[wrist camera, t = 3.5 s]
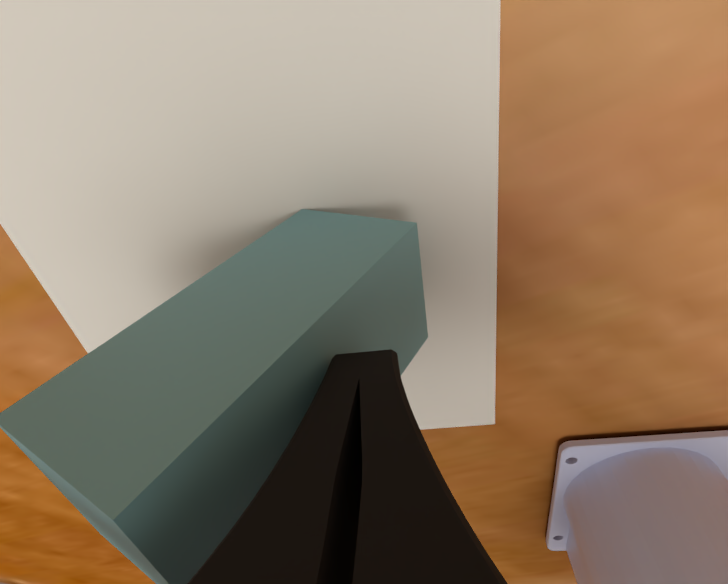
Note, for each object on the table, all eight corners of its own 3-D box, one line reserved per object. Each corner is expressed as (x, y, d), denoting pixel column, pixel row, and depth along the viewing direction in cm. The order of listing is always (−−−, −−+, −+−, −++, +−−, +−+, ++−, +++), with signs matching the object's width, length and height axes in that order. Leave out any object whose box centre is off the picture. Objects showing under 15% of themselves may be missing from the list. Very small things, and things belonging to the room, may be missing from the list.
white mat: (492, 413, 20) (494, 424, 19) (157, 438, 22) (152, 448, 21) (496, -131, 10) (502, -137, 9) (-126, 3, 12) (-149, 4, 11)
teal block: (428, 337, 14) (216, 637, 8) (327, 310, 16) (100, 533, 10) (416, 222, 12) (112, 520, 6) (302, 209, 14) (-8, 419, 8)
